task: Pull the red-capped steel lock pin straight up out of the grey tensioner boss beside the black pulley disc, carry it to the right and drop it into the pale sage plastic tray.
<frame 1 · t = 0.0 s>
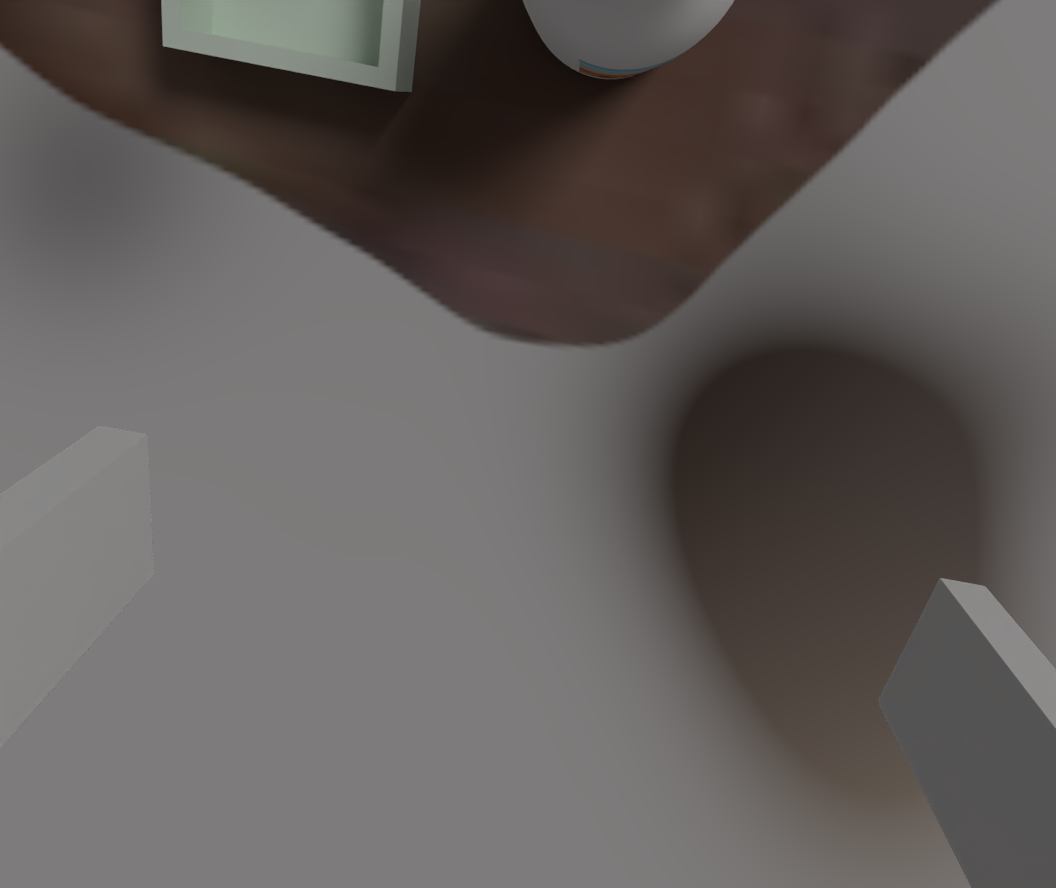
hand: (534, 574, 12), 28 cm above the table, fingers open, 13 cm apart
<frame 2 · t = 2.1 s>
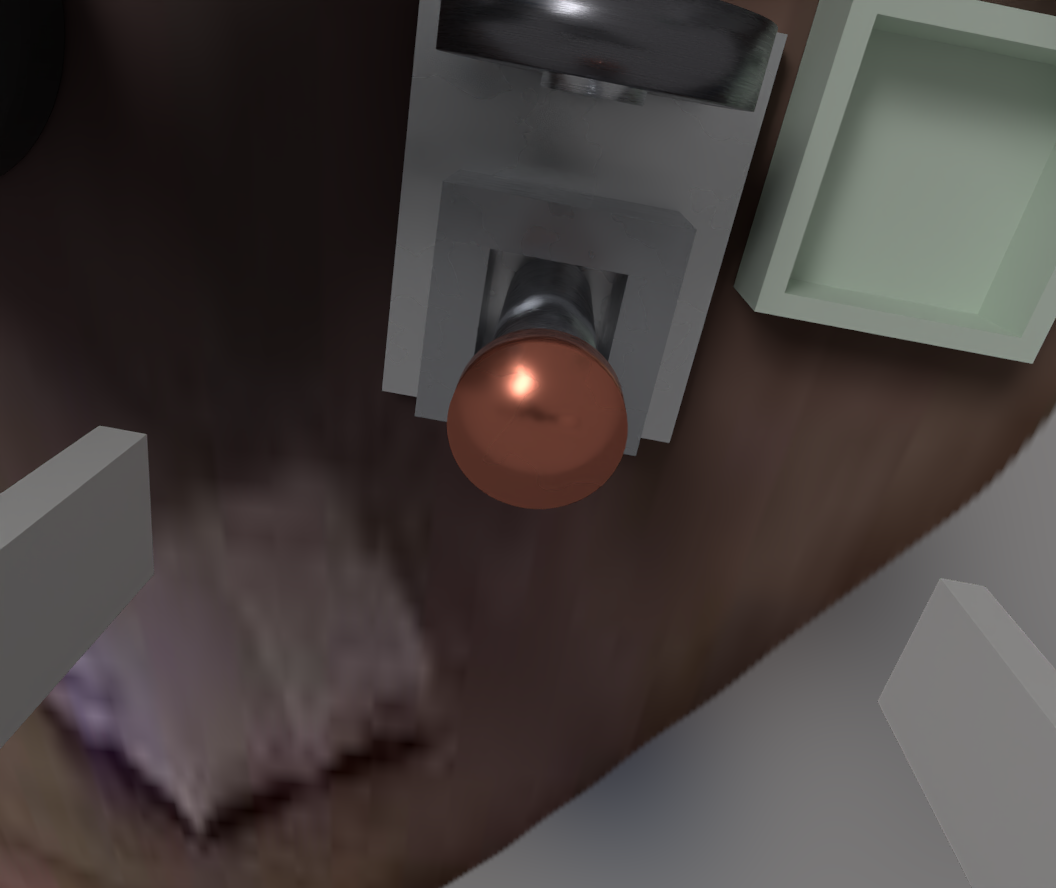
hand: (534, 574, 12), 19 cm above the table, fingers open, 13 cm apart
tensioner: (562, 227, 28), on the table
lock pin: (549, 298, 28), point 1 cm above the table, touching tensioner
tray: (908, 177, 27), on the table
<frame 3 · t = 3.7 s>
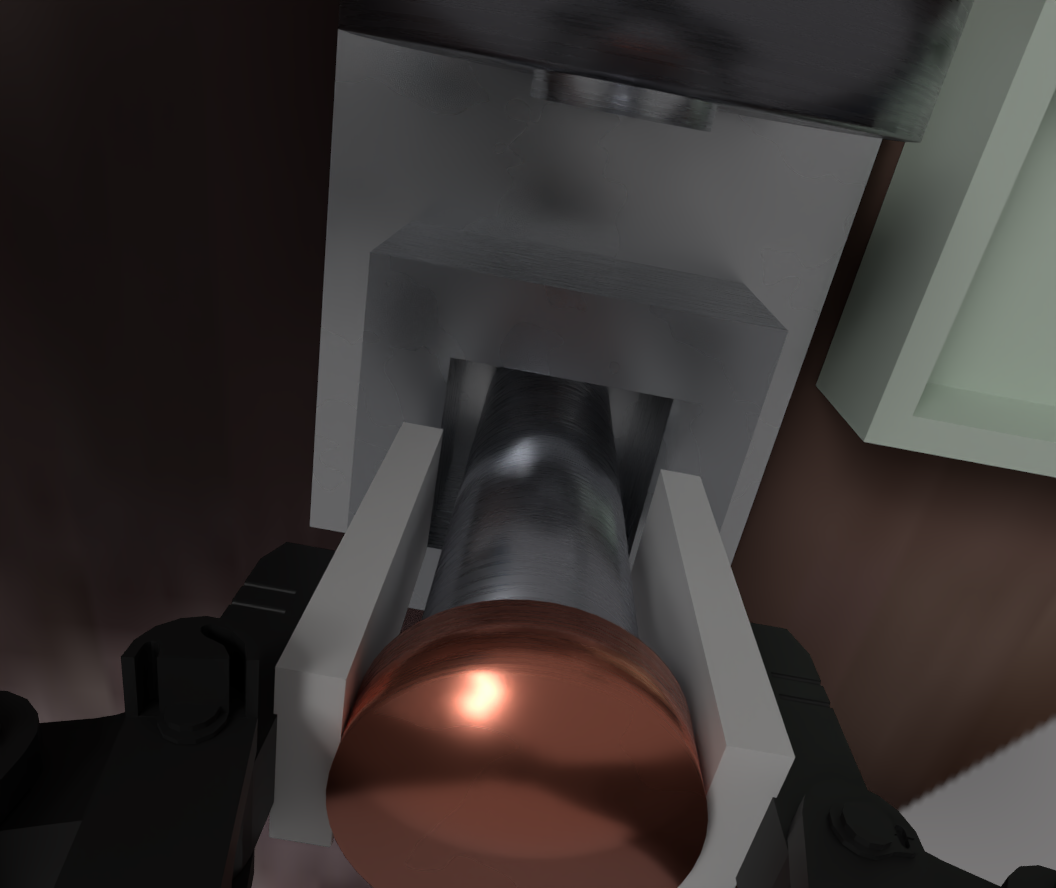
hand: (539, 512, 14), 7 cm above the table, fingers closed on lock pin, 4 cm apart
tensioner: (566, 300, 19), on the table
lock pin: (547, 405, 19), point 1 cm above the table, touching gripper, tensioner
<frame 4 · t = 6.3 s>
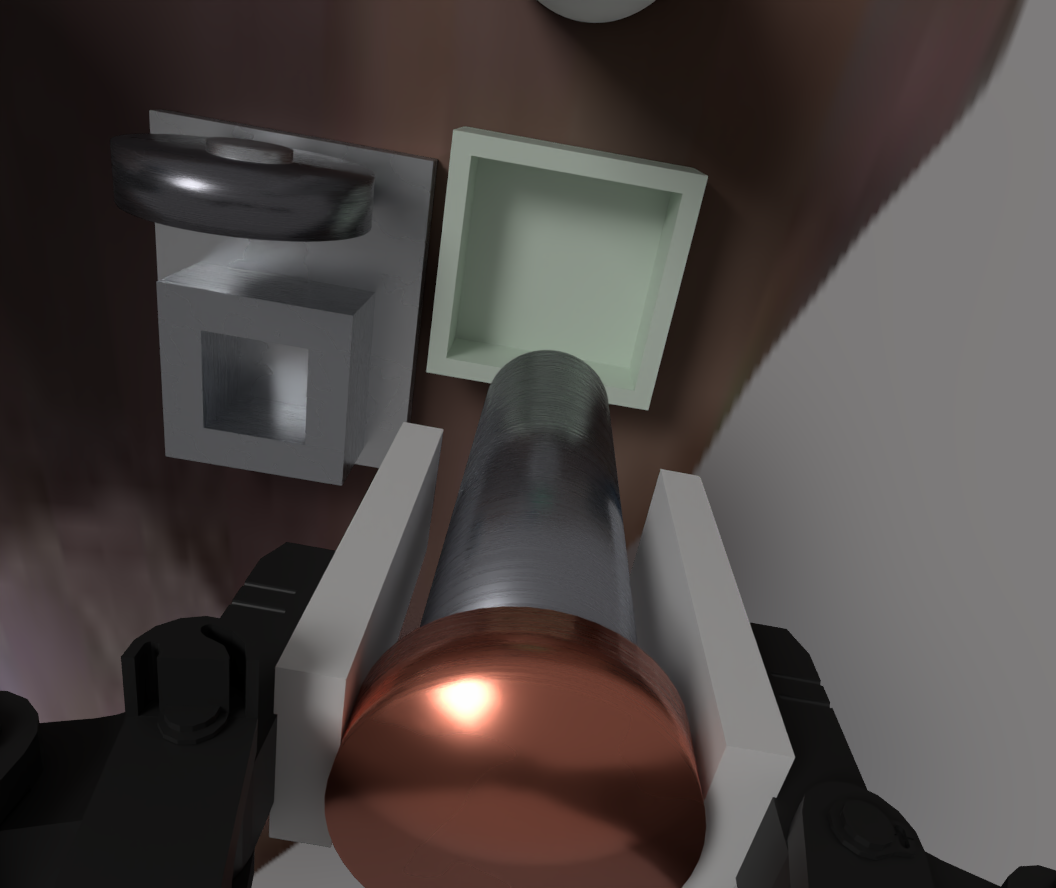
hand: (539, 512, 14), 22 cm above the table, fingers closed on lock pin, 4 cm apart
tensioner: (296, 302, 35), on the table
lock pin: (546, 408, 19), point 16 cm above the table, touching gripper
tray: (558, 262, 34), on the table
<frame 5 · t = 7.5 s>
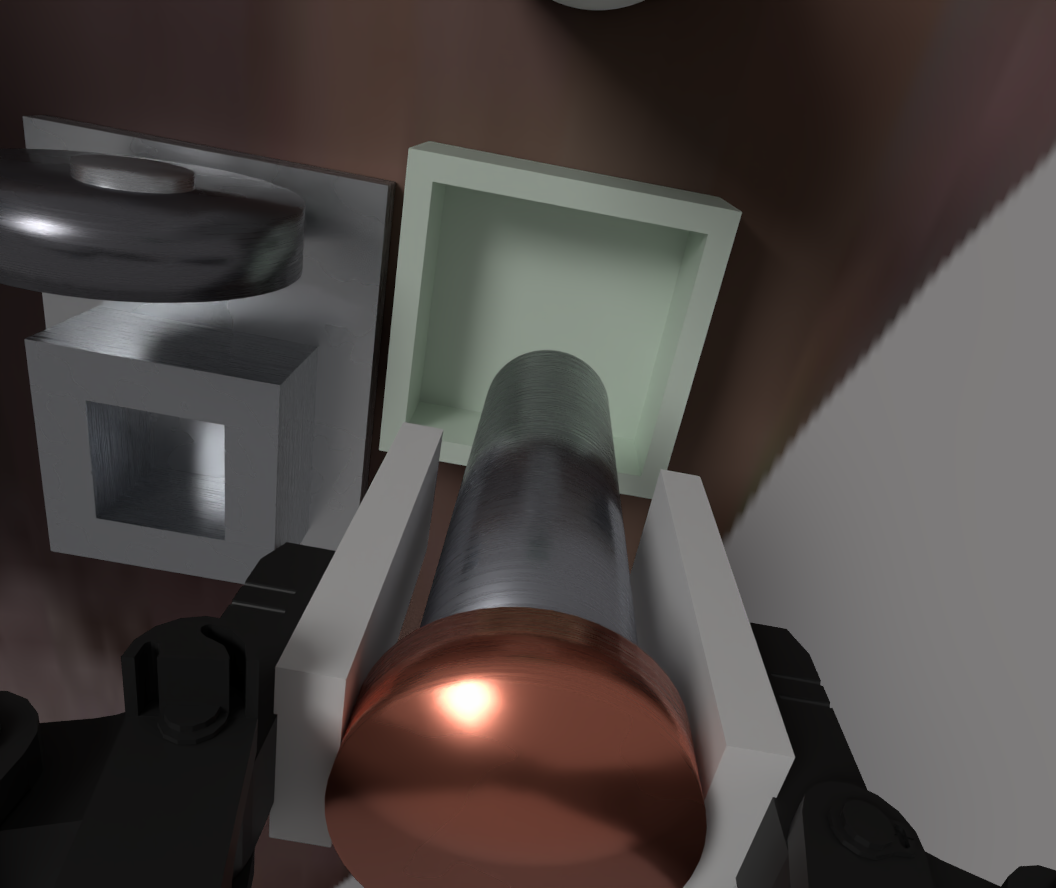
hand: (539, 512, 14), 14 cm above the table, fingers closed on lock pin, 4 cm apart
tensioner: (222, 354, 28), on the table
lock pin: (547, 408, 19), point 9 cm above the table, touching gripper
tray: (548, 311, 27), on the table
when the fingers open (7 cm above the table, at t = 8.8 s): lock pin drops 1 cm, resting on tray.
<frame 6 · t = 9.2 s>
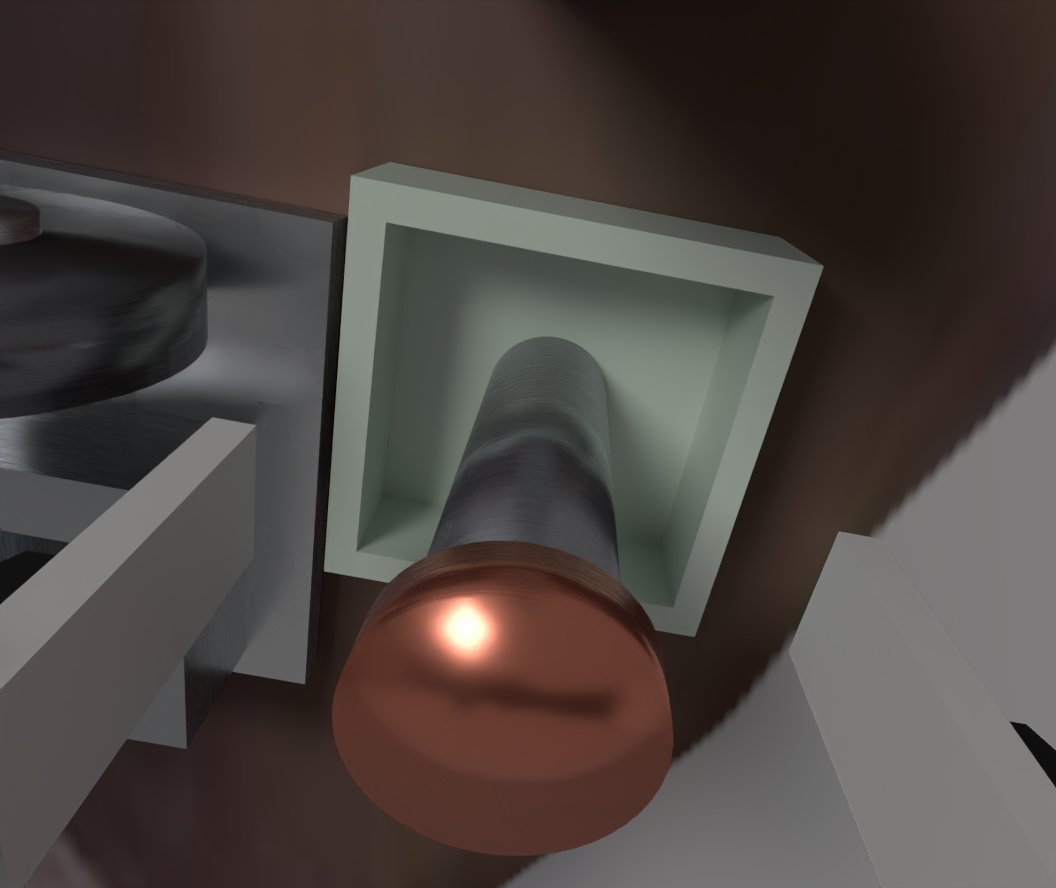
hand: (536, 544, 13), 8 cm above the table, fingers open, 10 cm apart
tensioner: (130, 433, 22), on the table
lock pin: (547, 393, 20), point 1 cm above the table, touching tray
tray: (549, 383, 21), on the table
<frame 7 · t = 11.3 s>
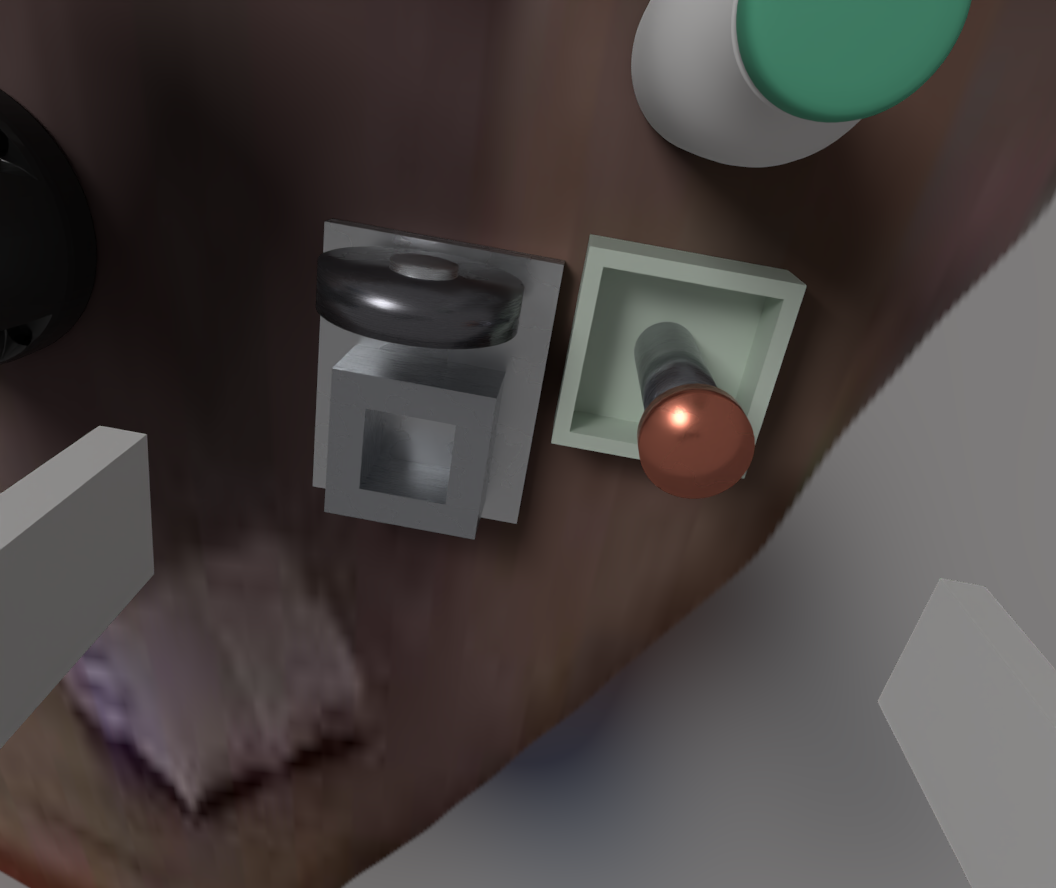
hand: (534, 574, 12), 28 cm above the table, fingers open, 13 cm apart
tensioner: (432, 377, 41), on the table
lock pin: (664, 351, 38), point 1 cm above the table, touching tray
milk bottle: (715, 61, 33), on the table
tray: (664, 347, 39), on the table
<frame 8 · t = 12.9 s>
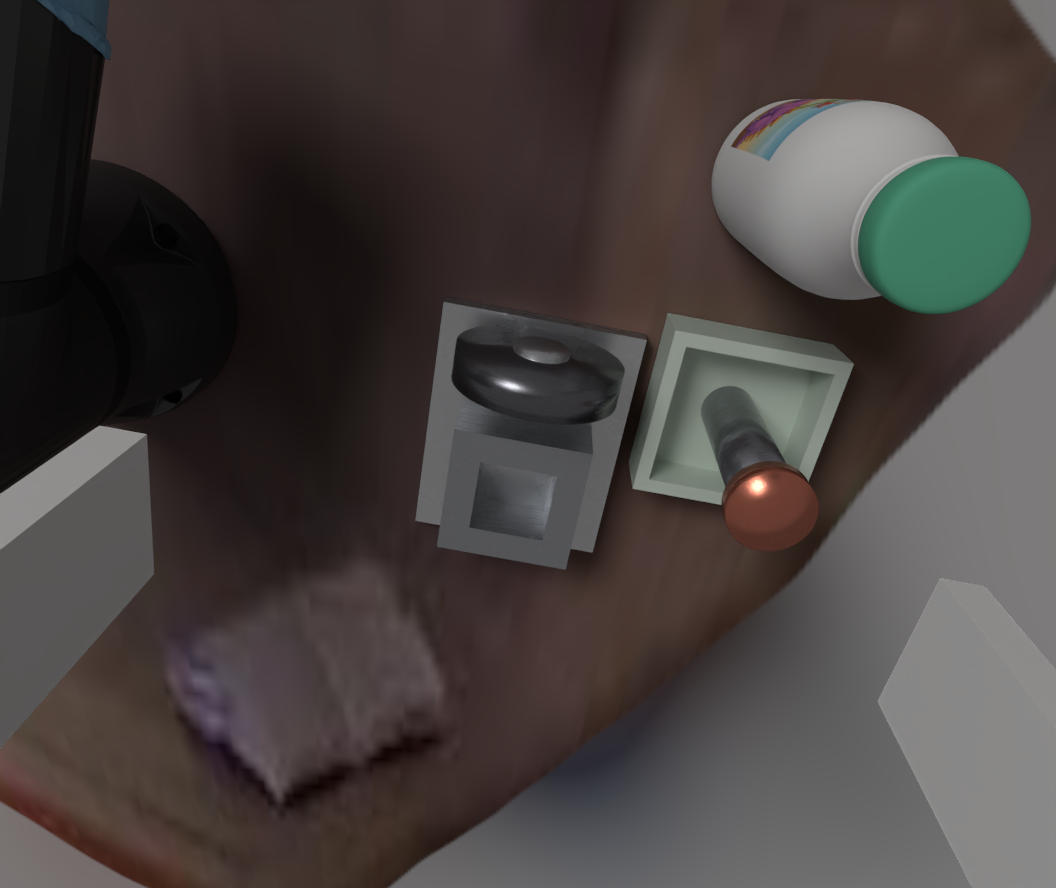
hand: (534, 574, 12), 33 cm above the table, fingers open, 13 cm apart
tensioner: (524, 428, 47), on the table
lock pin: (727, 410, 45), point 1 cm above the table, touching tray
milk bottle: (780, 177, 40), on the table
tray: (726, 405, 46), on the table
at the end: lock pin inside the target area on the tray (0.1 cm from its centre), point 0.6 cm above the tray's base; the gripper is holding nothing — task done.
